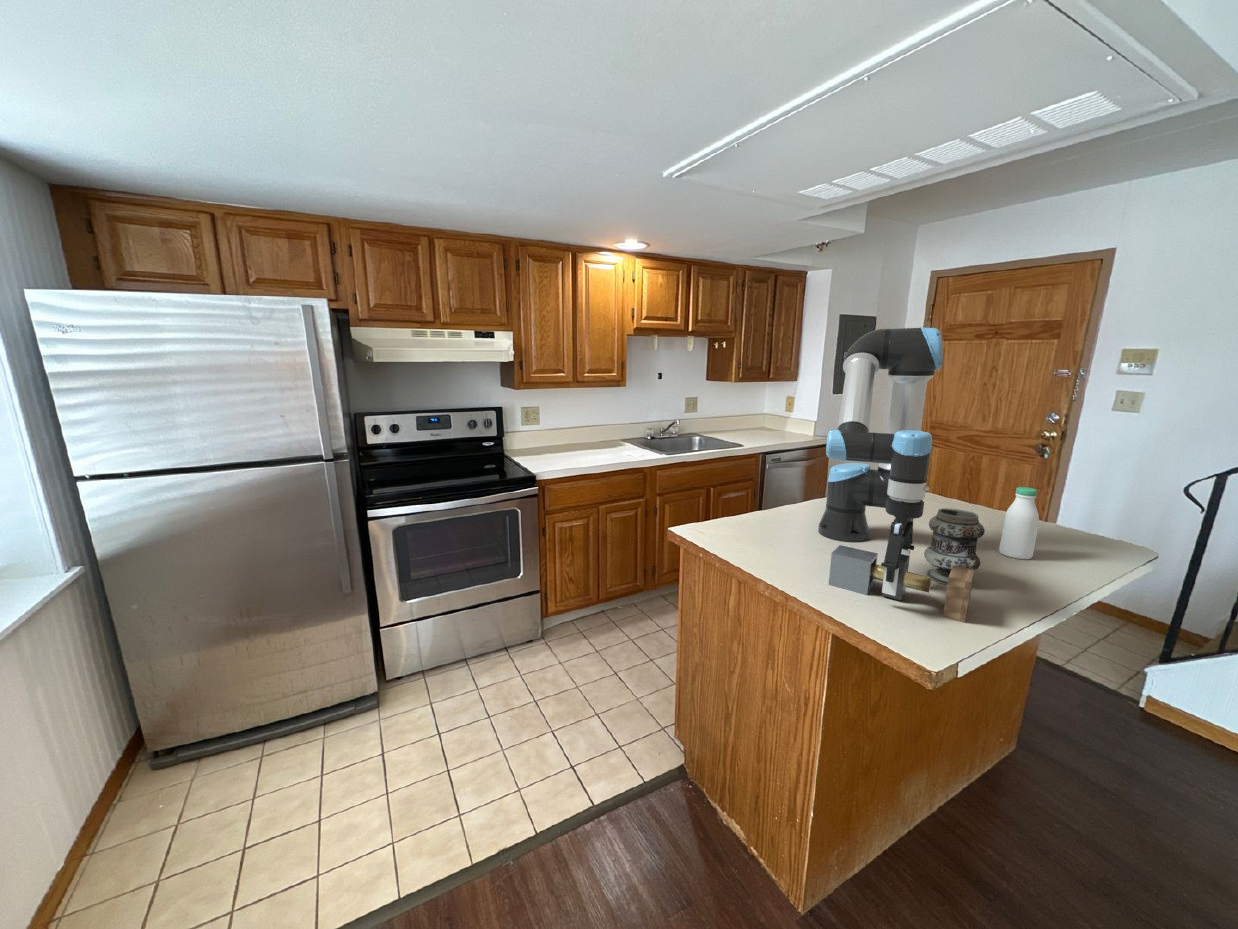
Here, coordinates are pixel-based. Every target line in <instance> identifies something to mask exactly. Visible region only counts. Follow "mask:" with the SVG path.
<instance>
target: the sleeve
mask: <svg viewBox="0 0 1238 929" xmlns="http://www.w3.org/2000/svg"><path fill="white" fill-rule="evenodd" d="M878 554H879V553H878V552H877V553H876V552H873V551H867V550H863V549H859V548H855V547H851V546H846V545H842V544H839V545H838V546H837V547H836V548H835V549H834V550H833V551H832V552H831V555H830V566H829V577H828V578H829V579H828V585H829V586H832V587H836V588H840V589H843V590H847V589H848V590H847V591H850V590H851V592H854V593H859V594H863V595H866V596H867V595H869V594H870V592H871V590H872V589H873V588H874V586H875V582H876V581H875V580H876V579H872V578H870V573H871V564H872V563H873V564H877V563H878V556H879V555H878ZM877 565H878V564H877Z"/></svg>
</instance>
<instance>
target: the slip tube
mask: <svg viewBox="0 0 1238 929" xmlns="http://www.w3.org/2000/svg"><path fill="white" fill-rule="evenodd" d="M910 557H911V555H910V556H908V555H903V554H901V556H900V560H899V565H898V568H899V573H898V581H897V589H896V595H895V596H893V595H889V594H886V593H882V592H881V596H884V597H887V598H889V599H890V598H891V599H894V600H898V601H902V600H903V598H904V596H905V594H906V589H907V588H908V589H913V590H917V591H920V592H923V593H924V592H925V593H930V590H931V586H932V581H933V580H932V577H928V576H927V575H923V574H918V573H914V572H910V571H909V567H910V566H909V565H910V559H911V558H910ZM889 563H893V562H889ZM884 570H885V567H883V566H881V564H873V563H872V564H871V573H870V578H872V579H875V580H877V581H881V582H883V579H884Z"/></svg>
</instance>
